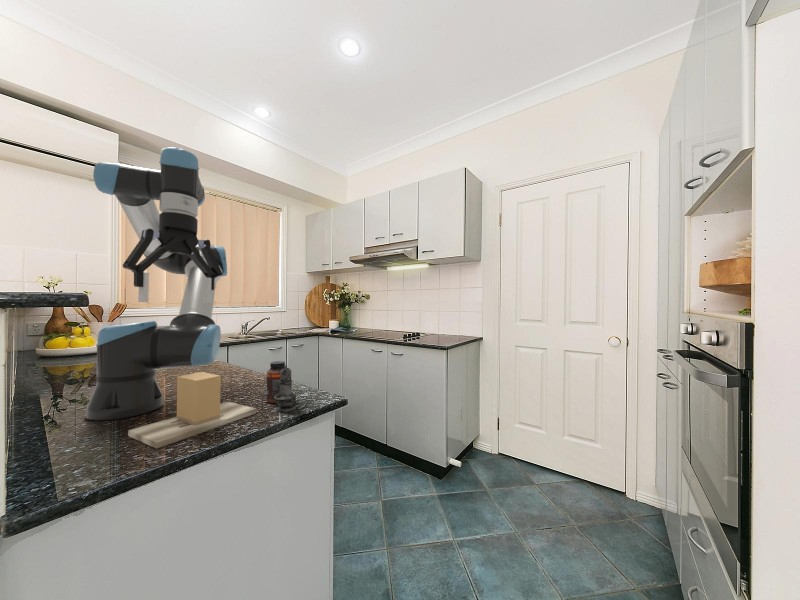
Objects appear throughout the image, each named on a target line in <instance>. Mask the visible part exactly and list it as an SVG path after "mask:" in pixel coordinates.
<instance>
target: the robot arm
mask: <svg viewBox="0 0 800 600" xmlns="http://www.w3.org/2000/svg"><path fill="white" fill-rule="evenodd" d="M159 165H160V167H159V168H160V169H159V170H157V169H151V168H146V167H145V168H143V167H139V166H131V165H126V164H122V163H112V162H104V161H101V162H97V163H95V166H94V168H93V171H92V172H93V175H92V176H93V182H94V184H95V187H96V189H97V190H98V191H99V192H101V193H102V194H107V195H110V196H115V197H116V199H117V200H118V203H119V205H120V206H121V208H122V210H123V211H124V214H125V216H126V218H127V219H128V221H129V223H130V225H131V226H132V229H133V230H134V232H135V234H136V236H137V237H138V240H139V241H138V242H137V244H136V245H135V247H134V248H133V249H132V250H131V252H130V254H129V255H128V256H127V258H126V260H125V261H124V262H123V263H122V268H124V269H126V270H129V271H131V272H132V273H133V286H134V288H138V297H137V298H138V301H137V302H138V303H149V295H150V294H149V293H150V292H149V291H150V290H149V289H150V288H149V286H150V284H149V283H150V279H149V278H150V273H149V272H145V271H146V270H147V269H148V268H149V267H151V266H152V265H154V266H156V267H157V268H159V269H161V270H163V271H166V272H168V273H171V274H175V275H186V277H187V280H186V285H185V288H184V293H183V296H182V300H181V305H180V308H179V313H178V315H176V316H175V317H173V319H172V320H170V324H169V325H158V323H157V320H151V321H150V320H149V321H142V322H139V321H138V322H133V323H125V324H116V325H109V326H105V327H102V328H101V329H100V330H99V331H98V332H97V333H98V334H97V342H96V343H97V344H95V345H96V346H95V347H96V384H95V388H94V390H93V392H92V395H91V396H90V398H89V401H88V403H87V405H86V408H85V419H87V420H90V421H110V420H111V421H112V420H119V419H124V418H125V419H126V418H131V417H134V416H135V417H136V416H139V415H143V414H146V413H149V412H154V411H155V410H157V409H159V408H161V407H163V403H164V395H163V393H162V391H161V388H160V386H159V384H158V381H157V379H156V369H166V368H167V369H168V368H182V367H199V366H206V365H211V364H213V362H215V361H216V358H217V357H218V354H219V350H220V343H221V335H222V333H221V331H222V330H221V327H220V325H218V324H216V322H215V320H214V319H212V317H213V316H212V315H213V310H214V309H213V308H214V303H215V302H214V301H215V295H216V294H215V293H216V288H217V282H219V281H220V280H221V278H222V277H226V276H227V275H228V264H227V255H226V254H227V253H226V249H225V248H224V246H220V245H215V244H211V240H210V239H199V238H198V237H197V235H198V226H199V225H198V222H199V221H198V219H197V217H198V215H199V214H198V213H199V212H198V211H199V210H198V209H199V208H198V207H200V206H202V205H203V204H204V202H205V200H206V194H205V188H204V187H203V185H202V183H201V180H200V177H199V170H200V168H199V159H198V157H197V156H196V155H195V154H194V153H192V152H190V151H188V150H186V149H184V148H178V147H165V148H162V149H161V151H160V161H159ZM155 201H159V205H158V208H159V209H158V208H157V205H156V203H155ZM159 211H160V212H161V213H159ZM142 256H144V257H145V258H144V259H143V260H141V261H139V260H140V259H141V258H142ZM138 262H139V263H138Z"/></svg>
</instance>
